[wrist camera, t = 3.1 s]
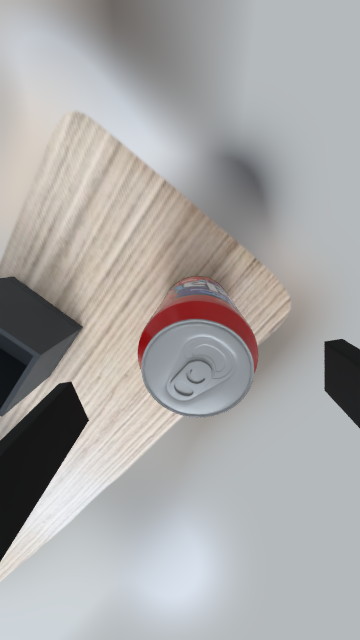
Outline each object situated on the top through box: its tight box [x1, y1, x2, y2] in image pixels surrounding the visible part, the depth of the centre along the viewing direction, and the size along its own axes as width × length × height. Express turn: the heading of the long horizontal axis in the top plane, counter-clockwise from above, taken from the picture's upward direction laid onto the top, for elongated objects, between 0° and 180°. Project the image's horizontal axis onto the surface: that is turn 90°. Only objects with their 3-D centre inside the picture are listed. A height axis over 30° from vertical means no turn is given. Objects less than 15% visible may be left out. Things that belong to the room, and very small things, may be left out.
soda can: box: [138, 276, 258, 417], centre depth 19 cm, size 8×8×15 cm
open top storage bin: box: [0, 277, 83, 416], centre depth 25 cm, size 11×11×8 cm
